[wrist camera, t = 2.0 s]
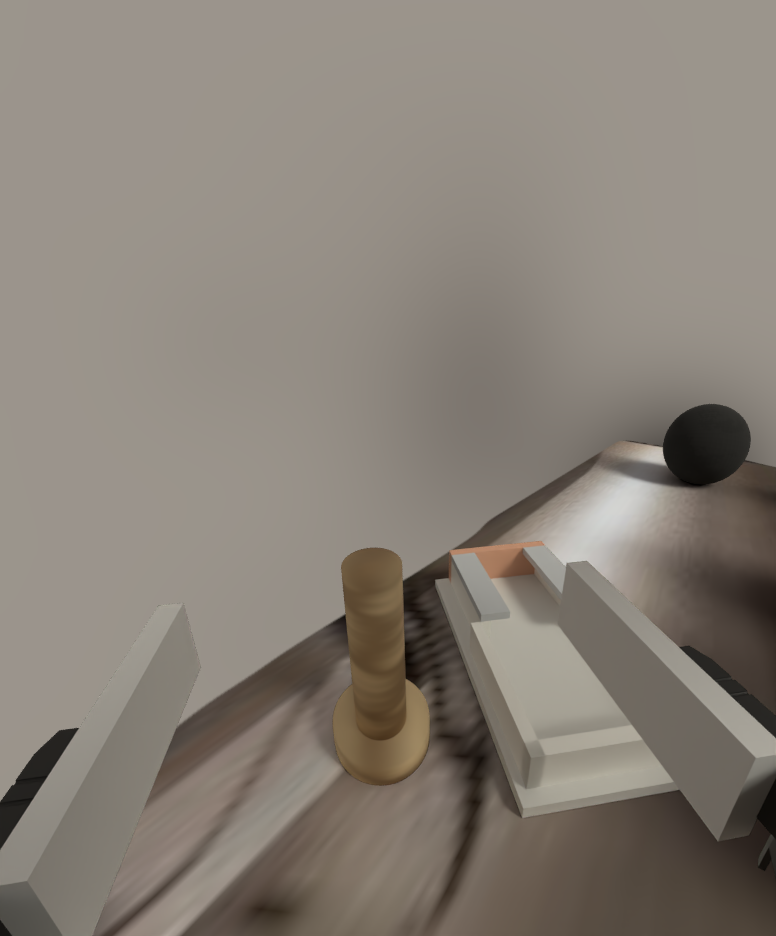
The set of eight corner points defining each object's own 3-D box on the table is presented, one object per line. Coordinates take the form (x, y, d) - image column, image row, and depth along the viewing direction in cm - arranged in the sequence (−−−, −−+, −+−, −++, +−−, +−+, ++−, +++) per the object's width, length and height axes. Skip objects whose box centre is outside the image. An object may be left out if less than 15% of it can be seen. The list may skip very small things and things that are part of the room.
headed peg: (419, 684, 35) (417, 530, 29) (440, 776, 28) (442, 595, 22) (335, 696, 34) (316, 539, 28) (334, 793, 27) (309, 611, 21)
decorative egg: (643, 479, 76) (659, 404, 70) (674, 466, 81) (691, 396, 76) (719, 501, 66) (744, 415, 60) (748, 484, 72) (773, 405, 66)
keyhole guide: (549, 573, 49) (554, 539, 47) (727, 781, 27) (748, 731, 25) (435, 586, 47) (435, 551, 46) (522, 818, 25) (529, 768, 23)
